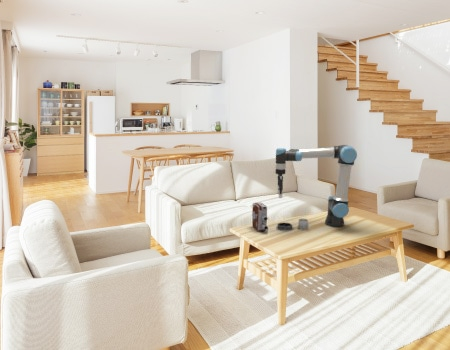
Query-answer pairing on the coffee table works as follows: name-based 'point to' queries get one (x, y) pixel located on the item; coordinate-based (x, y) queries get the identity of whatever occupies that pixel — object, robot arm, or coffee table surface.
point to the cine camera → (259, 217)
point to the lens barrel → (284, 227)
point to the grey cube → (303, 224)
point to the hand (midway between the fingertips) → (279, 196)
